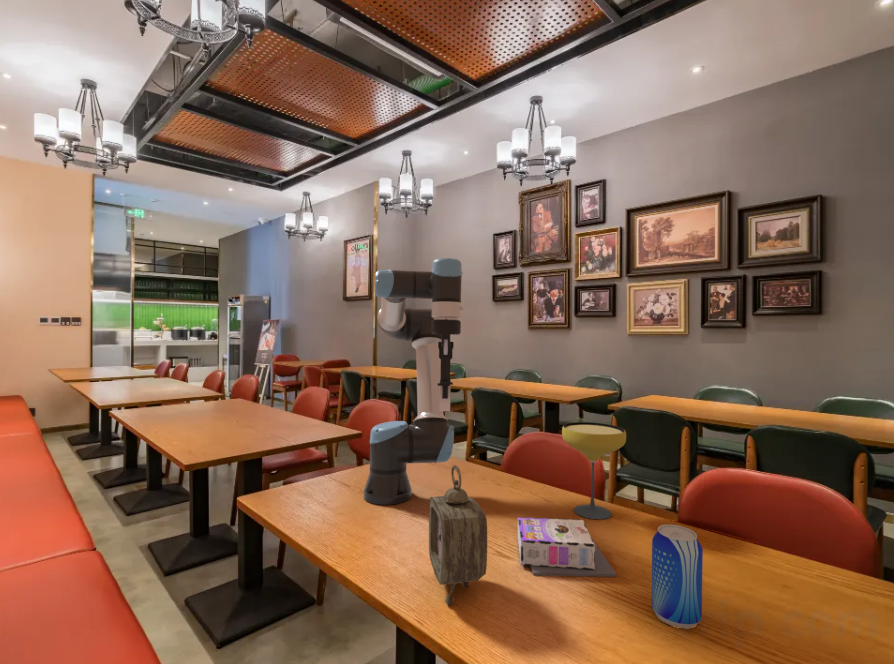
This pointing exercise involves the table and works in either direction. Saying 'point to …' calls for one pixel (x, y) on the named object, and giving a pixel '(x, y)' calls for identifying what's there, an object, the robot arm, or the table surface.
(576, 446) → the cocktail glass
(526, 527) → the candy box
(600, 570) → the mat
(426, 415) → the robot arm
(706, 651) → the table surface
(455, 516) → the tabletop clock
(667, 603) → the beer can
